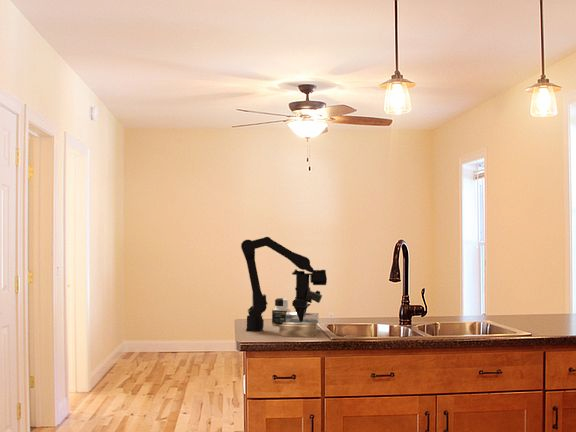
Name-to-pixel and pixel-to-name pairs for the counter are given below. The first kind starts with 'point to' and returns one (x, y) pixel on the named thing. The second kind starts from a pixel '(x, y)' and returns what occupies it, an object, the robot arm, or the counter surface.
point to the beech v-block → (297, 329)
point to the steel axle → (306, 319)
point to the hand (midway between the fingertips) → (302, 321)
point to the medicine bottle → (280, 311)
